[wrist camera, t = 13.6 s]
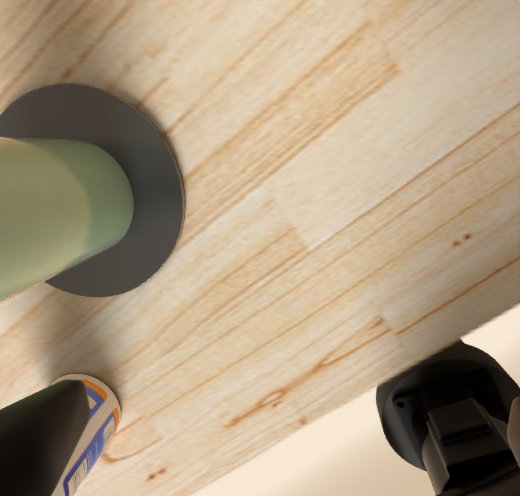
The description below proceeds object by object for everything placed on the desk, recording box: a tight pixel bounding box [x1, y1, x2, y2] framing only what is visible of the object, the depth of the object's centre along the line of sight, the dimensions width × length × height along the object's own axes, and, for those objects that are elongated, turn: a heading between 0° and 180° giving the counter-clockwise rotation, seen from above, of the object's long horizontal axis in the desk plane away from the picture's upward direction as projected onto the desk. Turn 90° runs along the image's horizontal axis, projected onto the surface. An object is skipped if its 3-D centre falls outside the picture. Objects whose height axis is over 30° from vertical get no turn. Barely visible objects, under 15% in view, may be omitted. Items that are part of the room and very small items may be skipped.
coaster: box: [0, 83, 185, 297], centre depth 21 cm, size 12×12×1 cm
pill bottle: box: [48, 374, 121, 496], centre depth 20 cm, size 5×5×10 cm
